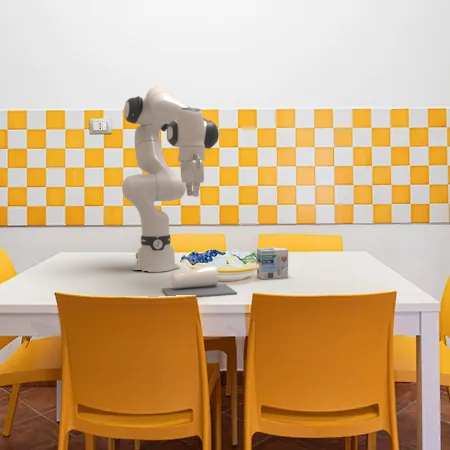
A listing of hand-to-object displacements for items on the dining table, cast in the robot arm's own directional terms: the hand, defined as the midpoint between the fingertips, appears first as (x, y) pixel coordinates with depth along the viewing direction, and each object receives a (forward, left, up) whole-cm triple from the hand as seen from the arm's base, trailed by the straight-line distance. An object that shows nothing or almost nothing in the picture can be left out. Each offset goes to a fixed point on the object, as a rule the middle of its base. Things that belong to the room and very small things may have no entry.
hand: (192, 196), depth 179 cm
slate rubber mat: (+11, -1, -31) cm, 33 cm away
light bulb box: (-5, +31, -31) cm, 44 cm away
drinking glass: (+7, -9, -28) cm, 30 cm away
